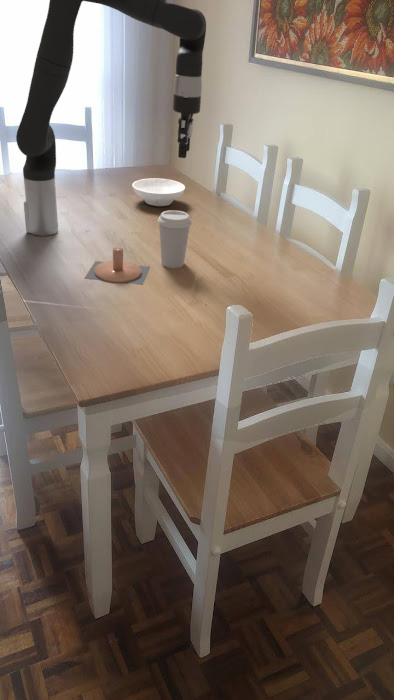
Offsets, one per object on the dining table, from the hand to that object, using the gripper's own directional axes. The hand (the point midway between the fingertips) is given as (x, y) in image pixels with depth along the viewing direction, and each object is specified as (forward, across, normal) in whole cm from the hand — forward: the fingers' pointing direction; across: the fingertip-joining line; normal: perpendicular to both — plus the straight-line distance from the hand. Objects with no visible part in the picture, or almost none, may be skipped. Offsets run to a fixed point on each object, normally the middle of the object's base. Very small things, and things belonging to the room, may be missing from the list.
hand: (183, 154), depth 165 cm
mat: (+28, +25, -14) cm, 40 cm away
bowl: (+29, -40, -12) cm, 51 cm away
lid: (+28, +25, -14) cm, 40 cm away
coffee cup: (+28, +15, 0) cm, 32 cm away
